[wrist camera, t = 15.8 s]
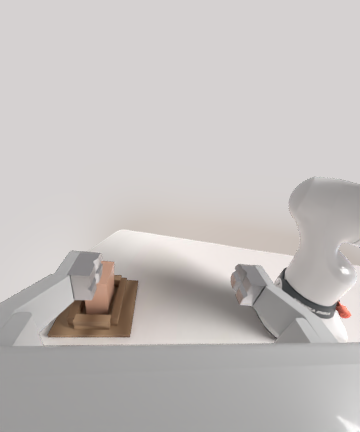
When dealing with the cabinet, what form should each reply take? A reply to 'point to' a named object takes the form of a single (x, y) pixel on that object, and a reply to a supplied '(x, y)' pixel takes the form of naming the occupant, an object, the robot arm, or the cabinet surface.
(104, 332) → the wooden tray with base
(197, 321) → the cabinet surface
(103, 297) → the peach rectangular block
